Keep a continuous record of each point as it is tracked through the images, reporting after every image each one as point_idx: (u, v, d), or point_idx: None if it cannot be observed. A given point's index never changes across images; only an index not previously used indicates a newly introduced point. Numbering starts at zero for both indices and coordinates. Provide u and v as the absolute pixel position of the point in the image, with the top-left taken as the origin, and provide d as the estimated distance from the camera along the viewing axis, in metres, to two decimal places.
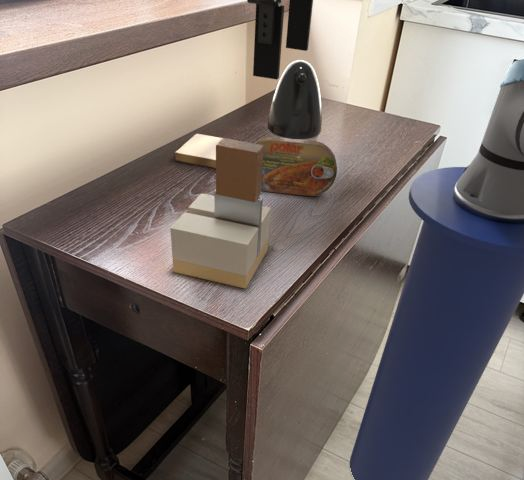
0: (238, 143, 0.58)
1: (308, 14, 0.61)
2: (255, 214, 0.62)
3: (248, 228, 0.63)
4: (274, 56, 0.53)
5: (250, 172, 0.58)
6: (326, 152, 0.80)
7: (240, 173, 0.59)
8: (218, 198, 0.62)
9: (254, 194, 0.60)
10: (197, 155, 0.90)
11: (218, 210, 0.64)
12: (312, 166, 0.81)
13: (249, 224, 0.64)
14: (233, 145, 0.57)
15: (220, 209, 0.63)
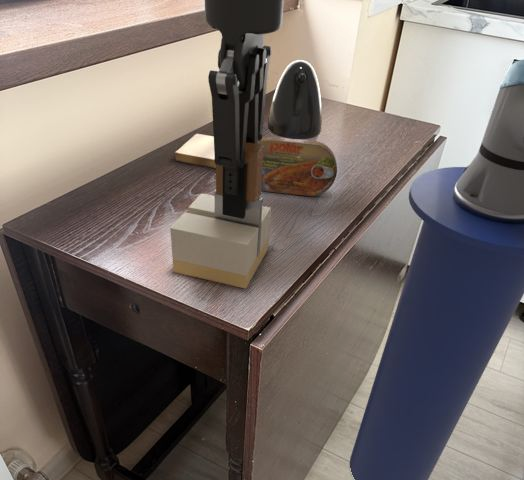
0: None
1: None
2: (255, 214, 0.62)
3: (248, 228, 0.63)
4: (240, 201, 0.60)
5: (250, 172, 0.58)
6: (326, 152, 0.80)
7: None
8: (218, 198, 0.62)
9: (254, 194, 0.60)
10: (197, 155, 0.90)
11: (218, 210, 0.64)
12: (312, 166, 0.81)
13: (249, 224, 0.64)
14: None
15: (220, 209, 0.63)
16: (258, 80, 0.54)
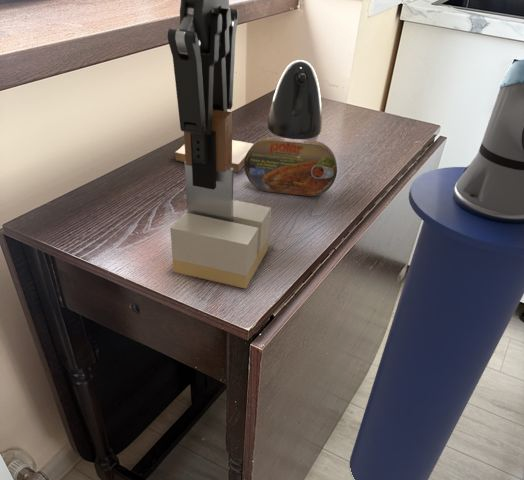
0: None
1: None
2: (226, 185, 0.61)
3: (248, 228, 0.63)
4: (209, 171, 0.59)
5: (219, 140, 0.57)
6: (326, 152, 0.80)
7: None
8: (188, 169, 0.61)
9: (224, 163, 0.59)
10: None
11: (189, 182, 0.62)
12: (312, 166, 0.81)
13: (221, 196, 0.62)
14: None
15: (191, 180, 0.62)
16: (223, 43, 0.52)
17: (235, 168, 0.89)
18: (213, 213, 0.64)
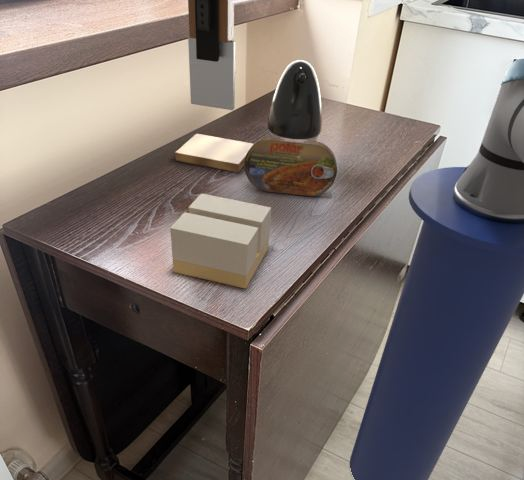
0: None
1: None
2: (228, 59, 0.64)
3: (248, 228, 0.63)
4: (213, 41, 0.62)
5: (222, 7, 0.59)
6: (326, 152, 0.80)
7: None
8: (192, 43, 0.64)
9: (226, 33, 0.61)
10: (197, 155, 0.90)
11: (192, 58, 0.65)
12: (312, 166, 0.81)
13: (223, 72, 0.65)
14: None
15: (195, 57, 0.65)
16: None
17: (235, 168, 0.89)
18: (215, 91, 0.67)
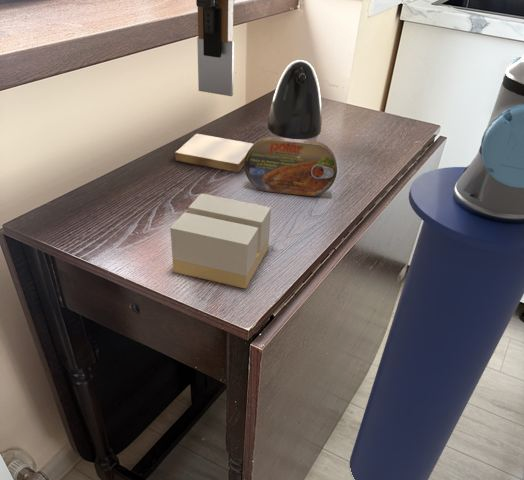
0: None
1: None
2: (228, 56, 0.82)
3: (248, 228, 0.63)
4: (216, 42, 0.79)
5: (223, 15, 0.77)
6: (326, 152, 0.80)
7: None
8: (200, 43, 0.82)
9: (227, 35, 0.79)
10: (197, 155, 0.90)
11: (200, 54, 0.83)
12: (312, 166, 0.81)
13: (224, 65, 0.83)
14: None
15: (202, 53, 0.82)
16: None
17: (235, 168, 0.89)
18: (218, 81, 0.85)
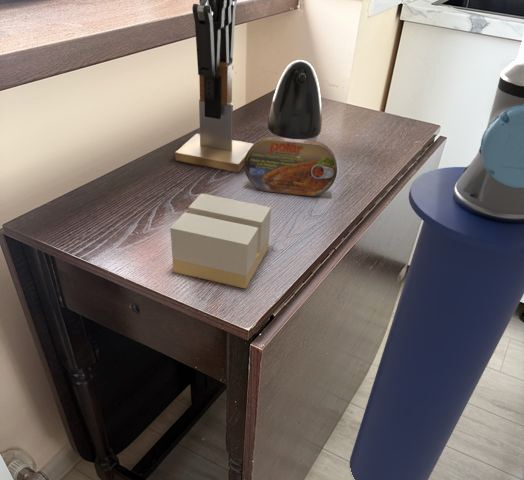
0: None
1: None
2: (228, 116, 0.88)
3: (248, 228, 0.63)
4: (216, 105, 0.86)
5: (223, 82, 0.84)
6: (326, 152, 0.80)
7: None
8: (201, 105, 0.88)
9: (226, 99, 0.85)
10: (197, 155, 0.90)
11: (202, 114, 0.89)
12: (312, 166, 0.81)
13: (224, 124, 0.89)
14: None
15: (203, 113, 0.89)
16: (227, 15, 0.79)
17: (235, 168, 0.89)
18: (218, 138, 0.91)
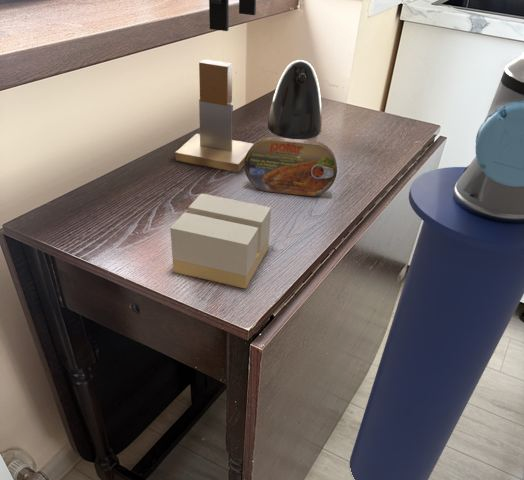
0: (215, 62, 0.84)
1: None
2: (228, 116, 0.88)
3: (248, 228, 0.63)
4: (223, 13, 0.73)
5: (223, 82, 0.84)
6: (326, 152, 0.80)
7: (216, 83, 0.84)
8: (201, 105, 0.88)
9: (226, 99, 0.85)
10: (197, 155, 0.90)
11: (202, 114, 0.89)
12: (312, 166, 0.81)
13: (224, 125, 0.89)
14: (211, 63, 0.83)
15: (203, 113, 0.89)
16: None
17: (235, 168, 0.89)
18: (218, 138, 0.91)
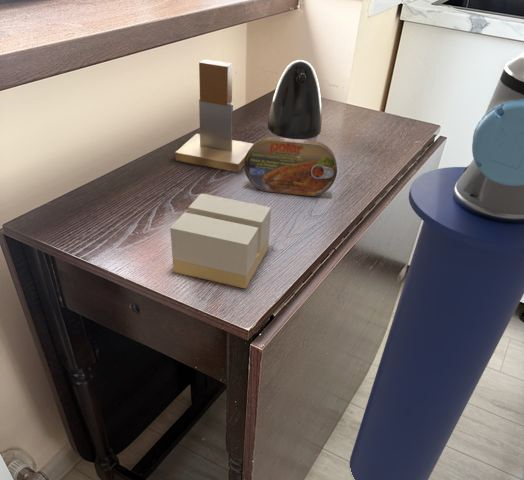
0: (215, 62, 0.84)
1: None
2: (228, 116, 0.88)
3: (248, 228, 0.63)
4: None
5: (223, 82, 0.84)
6: (326, 152, 0.80)
7: (216, 83, 0.84)
8: (201, 105, 0.88)
9: (226, 99, 0.85)
10: (197, 155, 0.90)
11: (202, 114, 0.89)
12: (312, 166, 0.81)
13: (224, 125, 0.89)
14: (211, 63, 0.83)
15: (203, 113, 0.89)
16: None
17: (235, 168, 0.89)
18: (218, 138, 0.91)
